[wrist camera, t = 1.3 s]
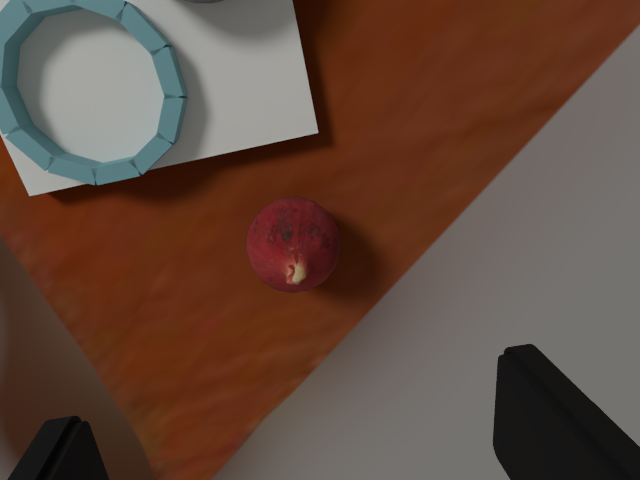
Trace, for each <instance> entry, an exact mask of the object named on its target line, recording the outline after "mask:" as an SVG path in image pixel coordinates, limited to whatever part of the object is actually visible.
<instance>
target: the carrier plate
mask: <svg viewBox="0 0 640 480" xmlns="http://www.w3.org/2000/svg"><path fill="white" fill-rule="evenodd" d="M316 133H318V128H317V123H316V118H315V113H314V108H313V102H312V97H311V92H310V87H309V82H308V77H307V72H306V67H305V62H304V57H303V52H302V47H301V42H300V36H299V31H298V26H297V21H296V16H295V11H294V6H293V1H292V0H0V135H1V137H2V139H3V141H4V143H5V145H6V147H7V149H8V152H9V154H10V156H11V158H12V160H13V162H14V164H15V166H16V168H17V171H18V173H19V175H20V177H21V179H22V181H23V183H24V185H25V187H26V190H27V192H28V194H29V196H33V195H37V194H42V193H47V192H51V191H56V190H60V189H65V188H69V187H74V186H78V185H83V184H91V185H96V184H97V185H102V184H106V183H111V182H115V181H120V180H124V179H129V178H134V177H138V176H141V175H143V174H144V173H145V172H147V171H148V170H152V169H156V168H161V167H165V166H170V165H174V164H179V163H184V162H188V161H193V160H197V159H202V158H206V157H211V156H215V155H220V154H225V153H229V152H234V151H238V150H243V149H247V148H252V147H257V146H261V145H266V144H270V143H275V142H279V141H284V140H289V139H293V138H298V137H302V136H307V135H311V134H316Z"/></svg>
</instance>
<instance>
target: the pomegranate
mask: <svg viewBox="0 0 640 480" xmlns="http://www.w3.org/2000/svg"><path fill="white" fill-rule="evenodd" d="M340 250H341V248H340V240H339V232H338V228H337V226H336V224H335V222H334V221H333V219H332V217H331V215H330V214H329V213H328V212H327V211H325V210H324V209H323V208H322V207H320V206H319V205H318V204H317V203H315V202H314V201H311V200H308V199H304V198H301V197H298V196H293V197H286V198H279V199H276V200H274V201H273V202H271V203H270V204H268V205H267V206H265V207H264V208H262V209H261V210H260V211H259V212H258V214H257V215H256V217H255V219H254V220H253V222H252V224H251V225H250V227H249V231H248V238H247V244H246V251H247V254H248V258H249V261H250V265H251V267H252V268H253V270H254V271H255V273H256V274H257V276H258V277H259V279H260V280H261V281H262V282H263V283H264V284H266V285H268V286H270V287H272V288H274V289H276V290H278V291H284V292H291V293H296V292H301V291H307V290H311V289H312V288H314V287H316V286H317V285H319V284H321V283H323V282H324V281H325V280H326V279H327V278H328V276H329V275H330V274H331V273H332V272H333V270H334V269H335V267H336V265H337V261H338V258H339V254H340Z"/></svg>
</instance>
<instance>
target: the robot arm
mask: <svg viewBox="0 0 640 480" xmlns="http://www.w3.org/2000/svg"><path fill="white" fill-rule="evenodd" d="M493 446H494V450H495V454H496V456H497V458H498V460H499V462H500V463H501V465H502V467H503V468H504V470H505V471H506V473H507V475H508V476H509V478H510V479H511V480H640V447H639V446H638V445H637V444H636V443H635V442H634V441H633V440H632V439H631V438H630V437H629V436H628V435H627V434H626V433H624V432H623V431H622V430H621V429H620V428H619V427H618V426H617V425H616V424H615V423H614V422H613V421H612V420H611V419H610V418H609V417H608V416H607V415H606V414H605V413H604V412H603V411H602V410H601V409H600V408H599V407H598V406H597V405H596V404H595V403H593V402H592V401H591V400H590V399H589V398H588V397H587V396H586V395H585V394H584V393H583V392H582V391H581V390H580V389H579V388H578V387H577V386H576V385H575V384H573V383H572V382H571V381H570V380H569V379H568V378H567V377H566V376H565V375H564V374H563V373H562V372H561V371H560V370H559V369H558V368H557V367H556V366H555V365H554V364H553V363H552V362H551V361H550V360H549V359H548V358H547V357H546V356H545V355H544V354H543V353H542V352H541V351H540V350H538V349H537V348H536V347H535V346H534V345H532V344H526V345H520V346H513V347H508V348H506V349H505V351H504V354H503V355H500V356H499V357H498V366H497V382H496V399H495V415H494V433H493ZM8 480H109V478H108V475H107V472H106V469H105V467H104V464H103V461H102V458H101V455H100V453H99V450H98V447H97V444H96V442H95V438H94V436H93V433H92V430H91V427H90V425H89V423H88V422H87V421H83V422H82V421H81V419H80V418H79V417H78V416H70V417H64V418H57V419H50V420H48V421H46V422H45V423H44V424H43V425H42V427H41V428H40V430H39V431H38V433H37V434H36V436H35V438H34V439H33V441H32V442H31V444H30V445H29V447H28V448H27V450H26V452H25V453H24V455H23V457H22V458H21V459H20V461H19V463H18V464H17V466H16V467H15V469H14V471H13V472H12V473H11V475H10V477H9V478H8Z"/></svg>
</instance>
